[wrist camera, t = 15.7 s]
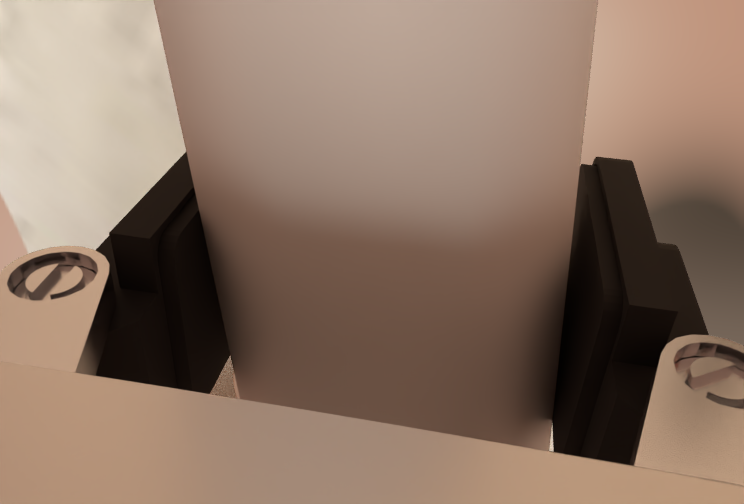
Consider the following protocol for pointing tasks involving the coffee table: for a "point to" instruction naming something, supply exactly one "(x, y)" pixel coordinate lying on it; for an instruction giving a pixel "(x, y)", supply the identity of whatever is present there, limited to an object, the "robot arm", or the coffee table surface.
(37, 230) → the coffee table surface
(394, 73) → the tube
